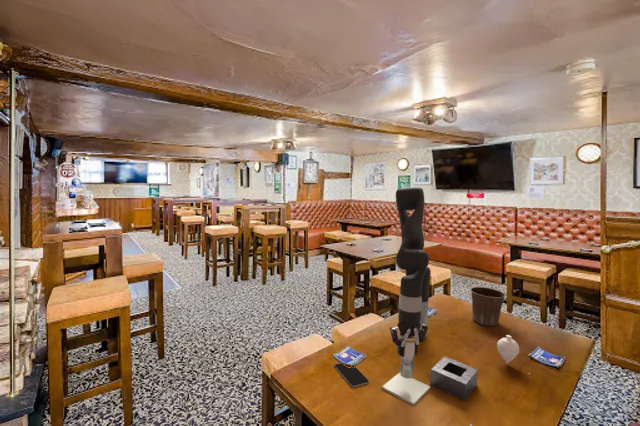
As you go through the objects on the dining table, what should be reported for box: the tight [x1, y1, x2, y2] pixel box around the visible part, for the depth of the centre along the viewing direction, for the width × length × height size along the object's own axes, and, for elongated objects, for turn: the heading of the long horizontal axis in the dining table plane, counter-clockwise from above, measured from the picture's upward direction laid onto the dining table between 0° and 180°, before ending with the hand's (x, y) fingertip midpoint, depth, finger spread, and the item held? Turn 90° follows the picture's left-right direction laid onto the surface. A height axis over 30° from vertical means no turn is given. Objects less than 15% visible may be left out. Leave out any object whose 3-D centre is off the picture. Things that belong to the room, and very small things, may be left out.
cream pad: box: [382, 372, 431, 406], centre depth 111 cm, size 12×12×1 cm
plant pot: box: [470, 286, 506, 327], centre depth 167 cm, size 16×16×16 cm
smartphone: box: [334, 362, 370, 388], centre depth 119 cm, size 7×1×15 cm
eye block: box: [429, 356, 479, 402], centre depth 113 cm, size 12×12×6 cm
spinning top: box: [496, 334, 520, 365], centre depth 127 cm, size 8×8×12 cm
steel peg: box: [399, 335, 416, 379], centre depth 110 cm, size 5×5×14 cm
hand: (407, 354), depth 110 cm, fingers closed on steel peg, 4 cm apart
